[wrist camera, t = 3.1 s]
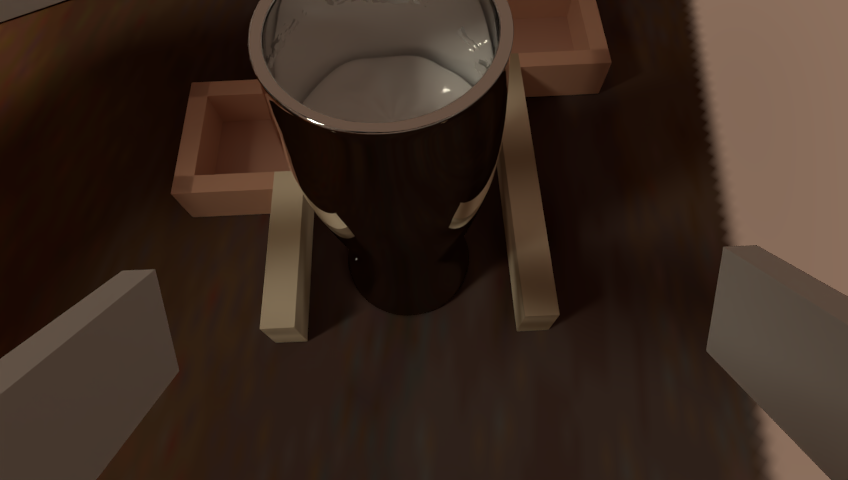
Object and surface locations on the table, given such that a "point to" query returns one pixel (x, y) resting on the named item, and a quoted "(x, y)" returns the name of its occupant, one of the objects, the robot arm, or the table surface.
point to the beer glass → (389, 129)
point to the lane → (521, 223)
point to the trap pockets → (260, 150)
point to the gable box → (22, 7)
